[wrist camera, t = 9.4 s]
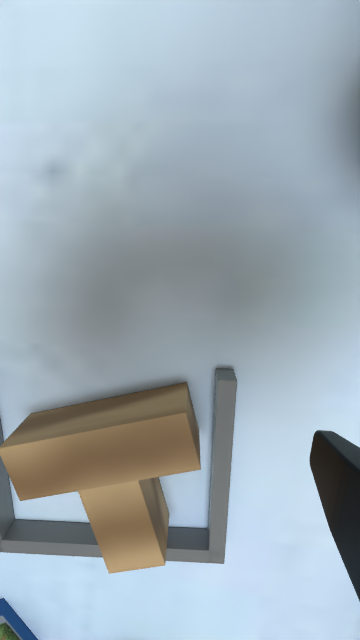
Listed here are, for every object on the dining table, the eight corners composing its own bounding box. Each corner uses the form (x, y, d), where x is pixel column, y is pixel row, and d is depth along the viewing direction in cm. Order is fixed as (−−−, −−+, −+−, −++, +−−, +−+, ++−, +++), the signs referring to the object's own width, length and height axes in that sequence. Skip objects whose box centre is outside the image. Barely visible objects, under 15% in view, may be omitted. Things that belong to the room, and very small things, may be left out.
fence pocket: (-25, 361, 22) (-44, 371, 20) (233, 369, 21) (237, 380, 19) (2, 530, 25) (-12, 551, 24) (221, 541, 25) (224, 563, 23)
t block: (30, 413, 23) (-3, 448, 19) (186, 382, 22) (185, 412, 18) (76, 529, 25) (55, 581, 21) (217, 506, 24) (223, 556, 20)
